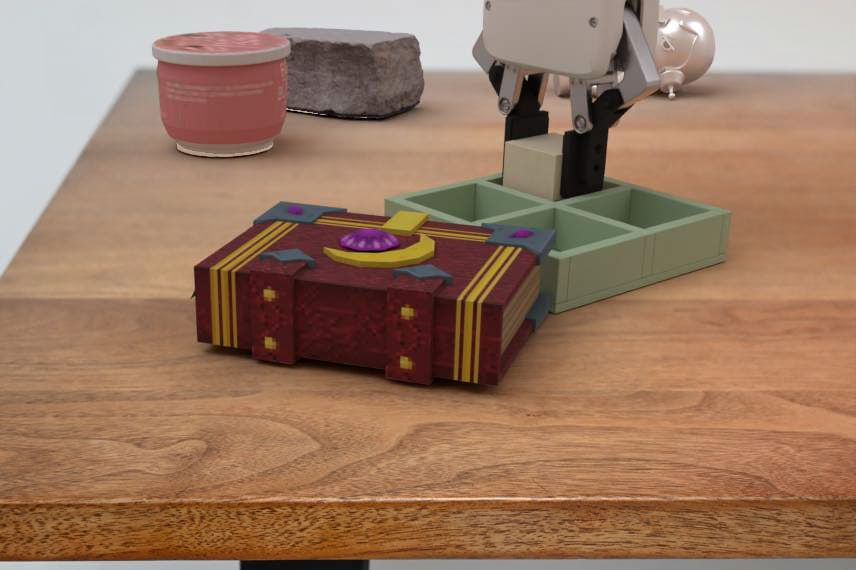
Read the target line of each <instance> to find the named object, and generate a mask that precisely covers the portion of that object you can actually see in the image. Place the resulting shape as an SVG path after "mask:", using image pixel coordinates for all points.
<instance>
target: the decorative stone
mask: <svg viewBox="0 0 856 570" xmlns="http://www.w3.org/2000/svg"><path fill="white" fill-rule="evenodd" d="M258 33H266V34H273V35H278V36H281V37H284V38H286V39H288V40H289V41H290V47H291V52H290V54H289V55H288V56H287V57H285V59H286V64H287V69H288V74H287V106H286V108H288V109H293V110H301V111H307V112H313V113H318V114H329V115H328V116H333V115H336V116H340V117H339V118H343V117H344V118H346V117H351V118H352V117H367V118H376V119H385V118H389V117H392V116H394V115H399V114H401V113H405V112H406V111H409V110H412V109H413V108H416V107H417V106H418V105H419V104H420V103H421V97H422V95H423V93H424V91H425V78H424V70H423V66H422V61H421V58H420V57H421V54H422V52H421V48H420V41H419V40H418V38H417V37H416V36H415V34H413V33H407V32H391V31H381V30H366V29H365V30H364V29H350V28H348V29H346V28H325V27H269V28H265V29H263V30H260V31H259V32H258ZM398 113H399V114H398ZM336 116H335V117H336ZM388 116H389V117H388ZM384 117H385V118H384Z"/></svg>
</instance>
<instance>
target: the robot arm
mask: <svg viewBox="0 0 856 570" xmlns="http://www.w3.org/2000/svg"><path fill="white" fill-rule="evenodd" d="M659 6H660V0H483V5H482V7H483V9H482V30H481V31H480V34H479V36H478V37H477V39H476V41H475V43H474V45H473V46H472V49H471V55H472V57H473V59H474V60H475V61H476V63H477V64H478V65H479V66H480V68H481V69H482V70H483V72H484V73H485V74H486V75H488V80H489V82H490V84H491V86H492V88H493V90H494V92H495V93H496V95H497V97H498V99H497V109H498V112H499V113H500V114H501V115H503V116H505V119H504V120H505V121H504V134H503V136H504V137H503V154H502V172H501V173H502V177H503V173H504V156H505V142H507V141H512V140H518V139H523V138H528V137H533V136H539V135H544V134H548V133H549V130H550V129H549V127H550V126H549V125H550V116H549V113H550V111H548V110H545V109H542V110H541V108H542V107H543V103H544V100H545V95H546V91H547V86H548V83H549V77H550V75H553V74H555V75H560V76H565V77H569V83H570V92H569V97H570V111H571V125H572V128H573V129H571V130H570V129H569V130H566V131H564V134H563V135H564V136H563V145H562V153H563V159H562V172H561V185H560V195H561V197H563V198H566V199H569V198H573V197H577V196H581V195H586V194H590V193H594V192H598V191H601V190H602V188H603V184H604V176H605V174H606V166H607V165H606V163H607V153H608V140H609V133H610V132H609V130H610V129H612V128H616V127H617V126H618V125H619V123H620V120H621V118H622V117H623V116H625V114H626V113H627V112H628V111H629V110H630V109H631V108H632V107H634V105H635V104H636V103H637V102H640V101H642V100H644V99H645V98H647V97H649V96H651V95H652V94H654V93H656V92H657V91H659V90H660V89H659V88H660V86H661V78H660V75H659V73H658V70H657V67H656V65H655V62H654V57H655V52H656V44H657V34H658V21H659ZM617 71H620V72H624V78H623V80H622V81H621V82H620V83H618V74H617ZM526 76H527V78H526ZM592 86H596V89H597V96H596V99H594V100H593V94H592Z"/></svg>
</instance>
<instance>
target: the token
mask: <svg viewBox="0 0 856 570" xmlns="http://www.w3.org/2000/svg"><path fill="white" fill-rule="evenodd" d="M563 136H564V134H562V133H558V132H548V134H544V135H539V136H533V137H528V138H523V139H518V140H512V141H507V142H505V156H504V173H503V186H504V187H508V188H511V189H514V190H517V191H521V192H524V193H527V194H531V195H534V196H537V197H540V198H544V199H547V200H550V201H557V200H561V199H566V198H563V197H561V195H560V185H561V172H562V159H563V153H562V145H563Z"/></svg>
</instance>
